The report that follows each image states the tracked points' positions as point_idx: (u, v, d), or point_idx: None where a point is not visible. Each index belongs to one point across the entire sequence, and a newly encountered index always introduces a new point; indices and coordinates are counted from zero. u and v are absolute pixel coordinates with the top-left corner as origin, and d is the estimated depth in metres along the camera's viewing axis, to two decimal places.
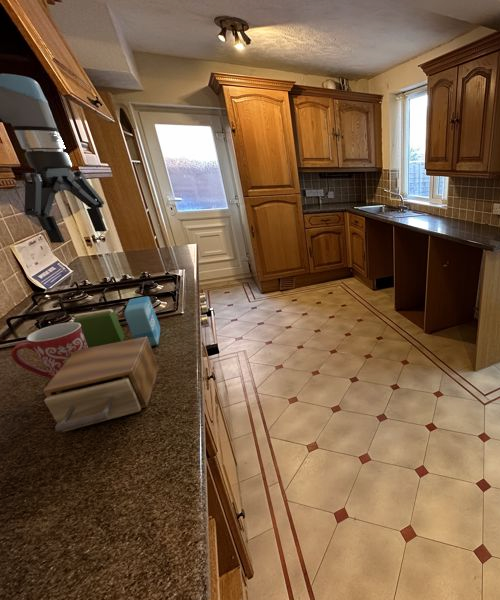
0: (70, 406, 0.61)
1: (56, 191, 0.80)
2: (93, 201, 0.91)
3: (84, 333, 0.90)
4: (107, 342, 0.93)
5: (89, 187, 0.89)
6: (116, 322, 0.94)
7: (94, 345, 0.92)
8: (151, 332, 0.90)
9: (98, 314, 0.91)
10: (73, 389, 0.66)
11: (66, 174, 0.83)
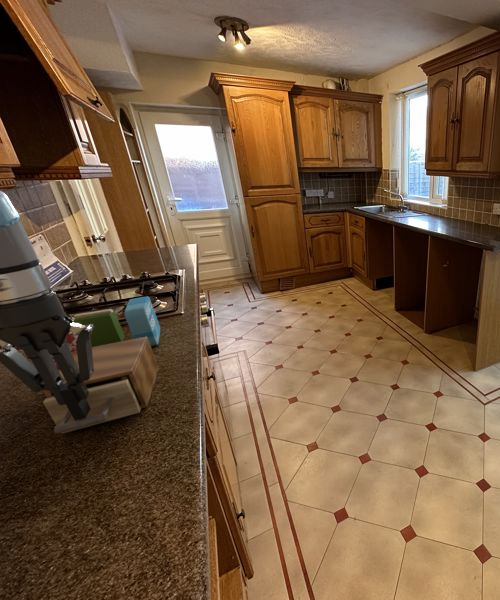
0: None
1: (35, 356, 0.51)
2: (68, 376, 0.55)
3: None
4: (107, 342, 0.93)
5: (79, 353, 0.54)
6: (116, 322, 0.94)
7: (94, 345, 0.92)
8: (151, 332, 0.90)
9: (98, 314, 0.91)
10: None
11: (48, 327, 0.51)
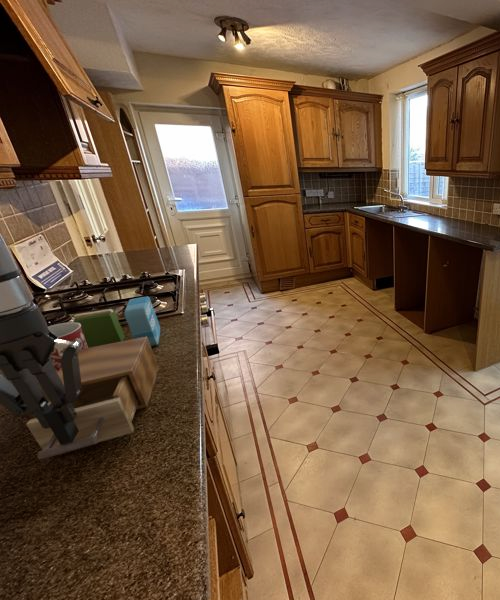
0: None
1: (15, 377, 0.47)
2: (53, 397, 0.50)
3: (84, 333, 0.90)
4: (107, 342, 0.93)
5: (65, 372, 0.49)
6: (116, 322, 0.94)
7: (94, 345, 0.92)
8: (151, 332, 0.90)
9: (98, 314, 0.91)
10: None
11: (29, 345, 0.46)
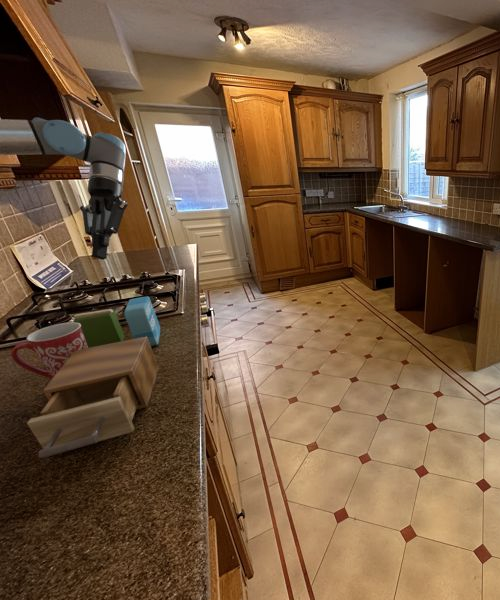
0: (56, 428, 0.56)
1: None
2: None
3: (84, 333, 0.90)
4: (107, 342, 0.93)
5: None
6: (116, 322, 0.94)
7: (94, 345, 0.92)
8: (151, 332, 0.90)
9: (98, 314, 0.91)
10: (60, 408, 0.61)
11: None
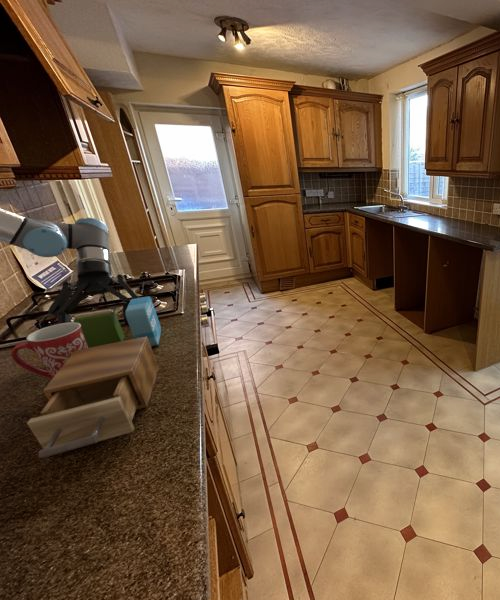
0: (56, 428, 0.56)
1: None
2: None
3: (84, 333, 0.90)
4: (107, 342, 0.93)
5: None
6: (116, 322, 0.94)
7: (94, 345, 0.92)
8: (152, 332, 0.90)
9: (98, 314, 0.91)
10: (60, 408, 0.61)
11: None
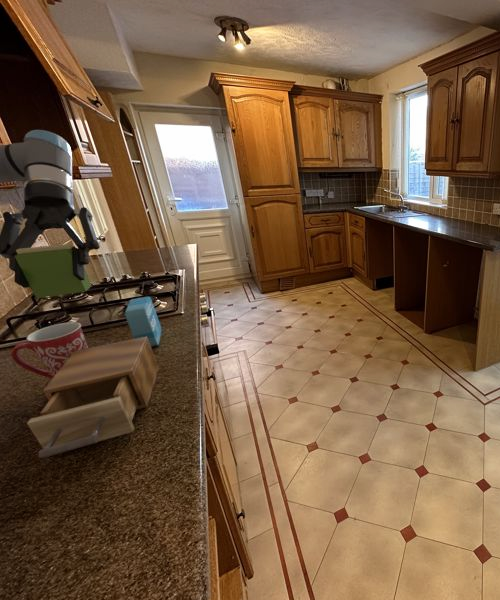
0: (56, 428, 0.56)
1: None
2: None
3: (32, 275, 0.65)
4: (66, 290, 0.68)
5: None
6: None
7: (47, 293, 0.67)
8: (152, 332, 0.90)
9: (51, 249, 0.66)
10: (60, 408, 0.61)
11: None
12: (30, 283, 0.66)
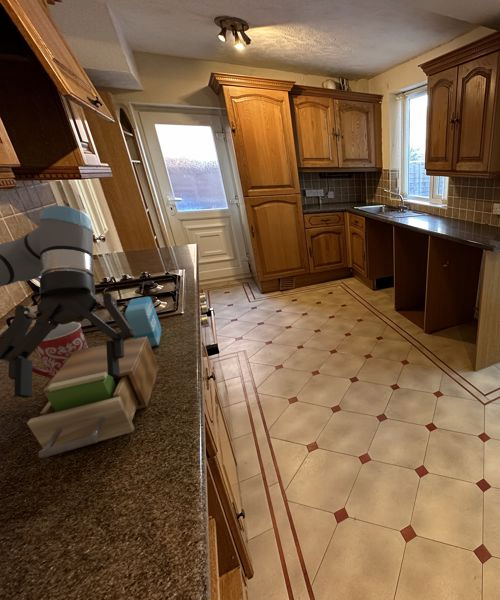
0: (56, 428, 0.56)
1: None
2: None
3: None
4: None
5: None
6: (113, 391, 0.63)
7: None
8: (152, 333, 0.90)
9: (86, 382, 0.60)
10: None
11: None
12: None
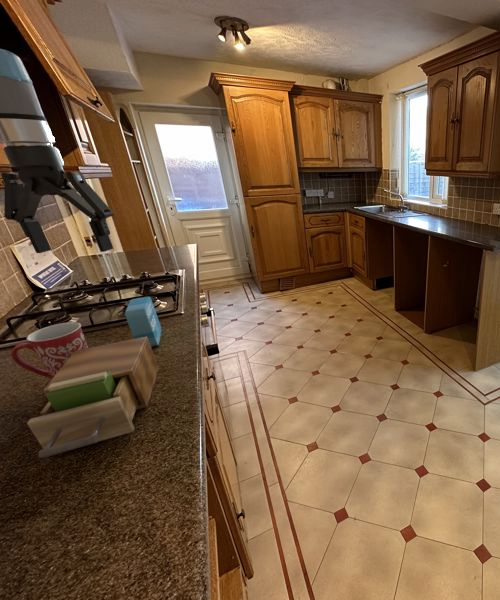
0: (56, 428, 0.56)
1: None
2: None
3: None
4: None
5: None
6: (113, 391, 0.63)
7: None
8: (152, 333, 0.90)
9: (86, 382, 0.60)
10: None
11: None
12: None
